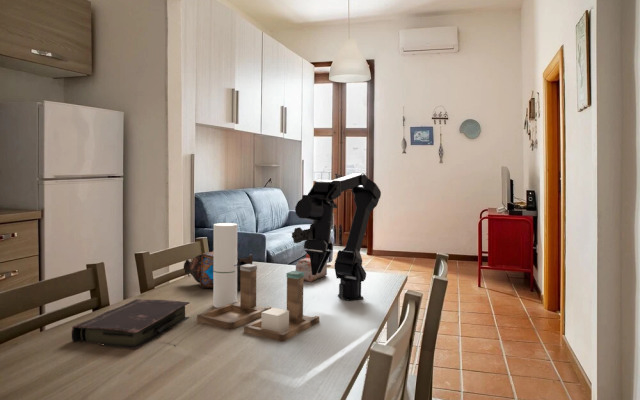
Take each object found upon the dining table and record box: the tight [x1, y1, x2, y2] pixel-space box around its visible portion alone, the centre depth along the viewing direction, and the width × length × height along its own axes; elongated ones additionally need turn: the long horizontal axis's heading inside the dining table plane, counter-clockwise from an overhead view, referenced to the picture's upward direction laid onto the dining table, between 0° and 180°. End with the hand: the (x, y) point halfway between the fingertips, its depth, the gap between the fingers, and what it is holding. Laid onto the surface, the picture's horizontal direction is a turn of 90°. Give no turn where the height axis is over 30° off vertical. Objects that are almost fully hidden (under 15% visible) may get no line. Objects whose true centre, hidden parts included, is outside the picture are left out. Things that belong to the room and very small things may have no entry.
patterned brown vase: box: [183, 250, 254, 292], centre depth 171 cm, size 16×16×25 cm
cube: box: [260, 307, 289, 333], centre depth 122 cm, size 5×5×5 cm
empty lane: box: [196, 263, 272, 330], centre depth 133 cm, size 17×12×14 cm
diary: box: [71, 298, 191, 350], centre depth 125 cm, size 19×25×5 cm
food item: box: [295, 252, 328, 283], centre depth 185 cm, size 14×8×10 cm, turn 152°
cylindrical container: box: [212, 222, 238, 309], centre depth 147 cm, size 7×7×25 cm
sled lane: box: [243, 270, 320, 343], centre depth 125 cm, size 17×12×14 cm
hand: (316, 274), depth 142 cm, fingers open, 9 cm apart
